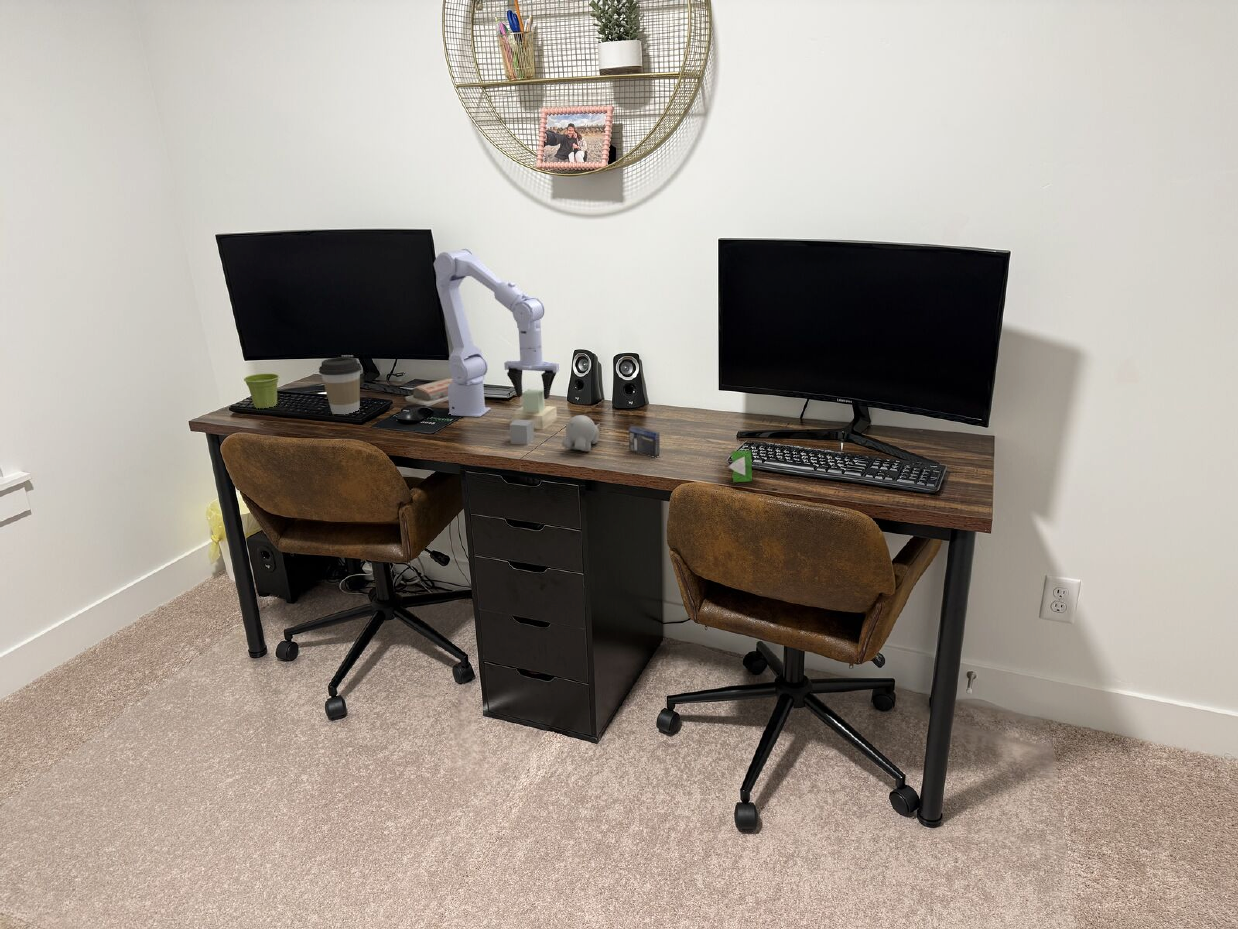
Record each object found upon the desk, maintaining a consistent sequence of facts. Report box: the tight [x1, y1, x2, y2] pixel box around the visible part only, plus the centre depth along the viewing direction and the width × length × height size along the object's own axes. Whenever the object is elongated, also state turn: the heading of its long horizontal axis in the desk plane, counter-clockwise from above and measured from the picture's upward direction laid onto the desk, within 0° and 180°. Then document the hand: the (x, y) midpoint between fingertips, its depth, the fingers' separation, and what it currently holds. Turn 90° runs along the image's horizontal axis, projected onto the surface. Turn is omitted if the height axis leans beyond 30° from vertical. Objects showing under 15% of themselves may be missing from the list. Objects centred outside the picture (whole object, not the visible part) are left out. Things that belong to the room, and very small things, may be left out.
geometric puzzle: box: [724, 449, 760, 483], centre depth 186 cm, size 7×7×8 cm
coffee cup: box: [318, 356, 362, 415], centre depth 238 cm, size 11×11×15 cm
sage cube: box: [521, 388, 546, 413], centre depth 226 cm, size 4×4×5 cm
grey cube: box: [509, 419, 535, 446], centre depth 214 cm, size 4×4×5 cm
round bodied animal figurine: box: [561, 414, 601, 452], centre depth 208 cm, size 7×12×8 cm, turn 147°
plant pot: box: [243, 373, 280, 409], centre depth 247 cm, size 9×9×9 cm
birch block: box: [510, 405, 558, 430], centre depth 228 cm, size 9×9×4 cm
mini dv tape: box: [628, 425, 661, 458], centre depth 203 cm, size 8×2×6 cm, turn 48°
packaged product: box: [405, 377, 454, 407], centre depth 254 cm, size 18×5×10 cm
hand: (533, 397), depth 226 cm, fingers open, 7 cm apart
